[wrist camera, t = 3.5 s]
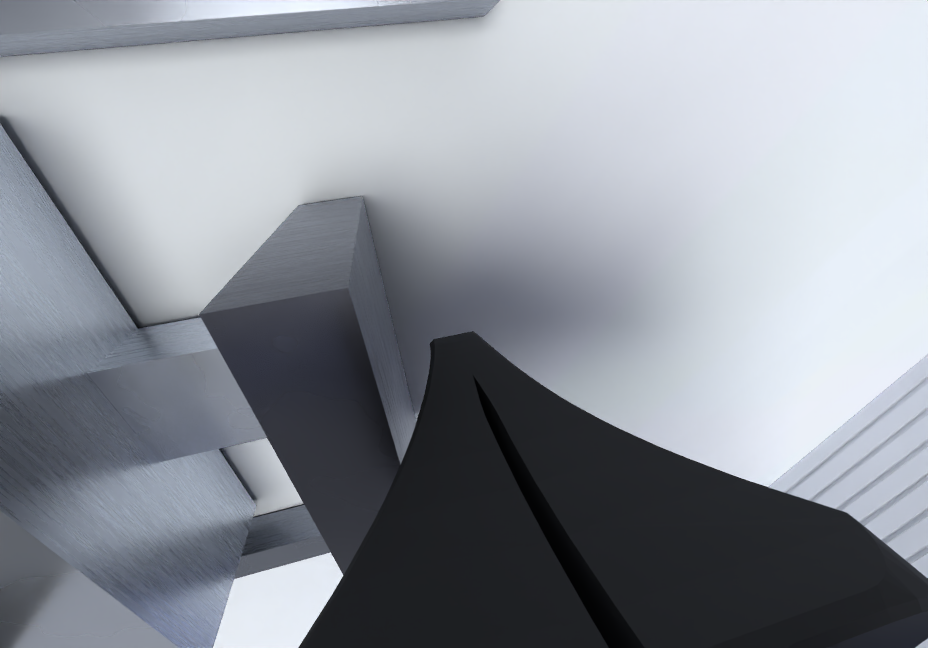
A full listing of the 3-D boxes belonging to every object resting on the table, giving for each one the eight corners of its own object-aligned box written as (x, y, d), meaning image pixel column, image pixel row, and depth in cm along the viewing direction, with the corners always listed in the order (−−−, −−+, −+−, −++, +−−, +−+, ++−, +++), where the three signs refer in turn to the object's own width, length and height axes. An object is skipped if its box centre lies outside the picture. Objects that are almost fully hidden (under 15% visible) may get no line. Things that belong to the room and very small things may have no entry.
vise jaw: (426, 462, 15) (454, 646, 9) (171, 527, 13) (44, 780, 8) (335, 79, 8) (264, 0, 3) (-193, 133, 7) (-2092, 167, 2)
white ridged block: (654, 641, 34) (757, 831, 25) (575, 642, 30) (665, 874, 21) (980, 395, 24) (1363, 568, 15) (934, 341, 19) (1442, 540, 10)
